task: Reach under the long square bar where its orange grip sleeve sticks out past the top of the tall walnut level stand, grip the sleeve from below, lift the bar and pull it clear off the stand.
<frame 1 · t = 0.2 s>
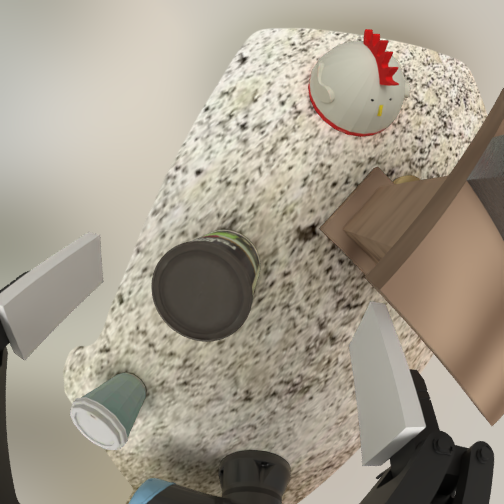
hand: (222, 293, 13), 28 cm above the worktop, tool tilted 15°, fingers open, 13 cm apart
coffee can: (224, 265, 41), on the worktop
level stand: (375, 227, 39), on the worktop
disposable coffee cup: (130, 384, 47), on the worktop
kitchen timer: (353, 94, 36), on the worktop
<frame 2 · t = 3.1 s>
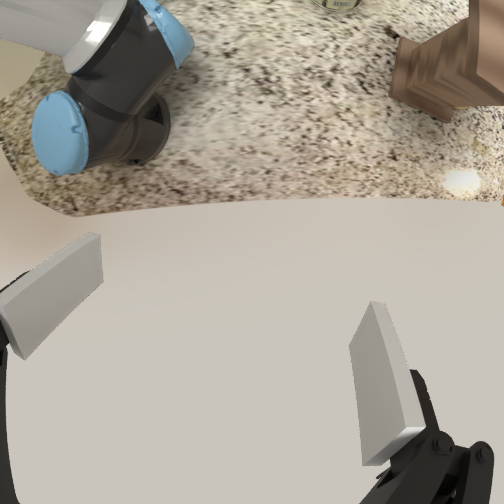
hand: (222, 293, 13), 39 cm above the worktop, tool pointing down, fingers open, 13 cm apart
level stand: (424, 80, 36), on the worktop
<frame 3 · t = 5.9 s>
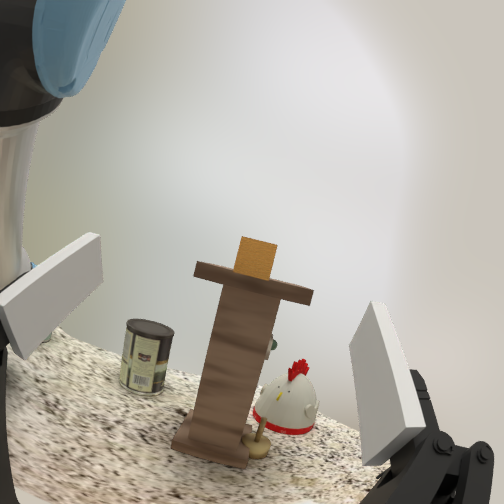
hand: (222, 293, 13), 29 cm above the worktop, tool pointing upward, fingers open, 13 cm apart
coffee can: (140, 385, 54), on the worktop
level stand: (213, 441, 41), on the worktop
kitchen timer: (282, 419, 55), on the worktop
long square bar: (255, 275, 38), point 30 cm above the worktop, touching level stand
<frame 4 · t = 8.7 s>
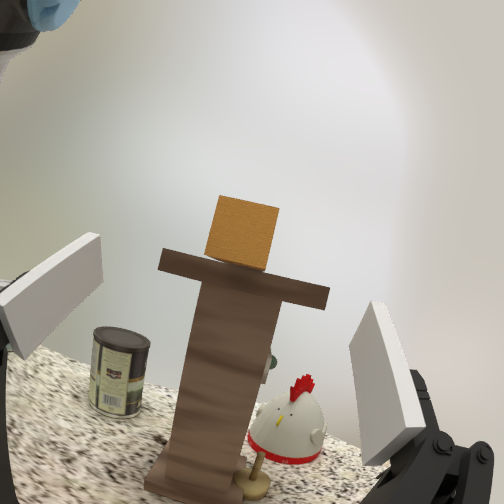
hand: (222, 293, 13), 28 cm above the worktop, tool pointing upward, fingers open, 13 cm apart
coffee can: (114, 404, 43), on the worktop
level stand: (198, 478, 29), on the worktop
kitchen timer: (283, 444, 44), on the worktop
long square bar: (246, 269, 27), point 30 cm above the worktop, touching level stand
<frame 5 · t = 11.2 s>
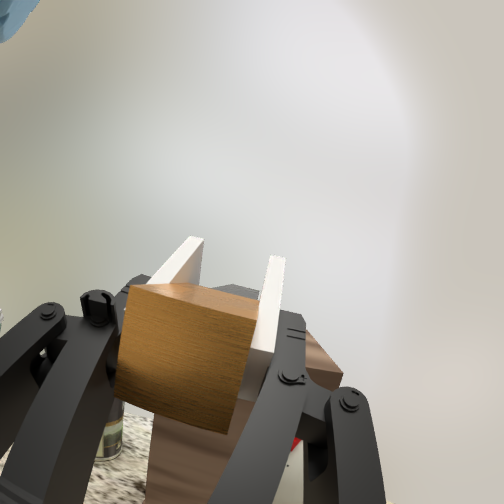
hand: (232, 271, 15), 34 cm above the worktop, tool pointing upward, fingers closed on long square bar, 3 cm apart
coffee can: (93, 443, 34), on the worktop
kitchen timer: (279, 488, 35), on the worktop
long square bar: (224, 336, 19), point 30 cm above the worktop, touching gripper, level stand
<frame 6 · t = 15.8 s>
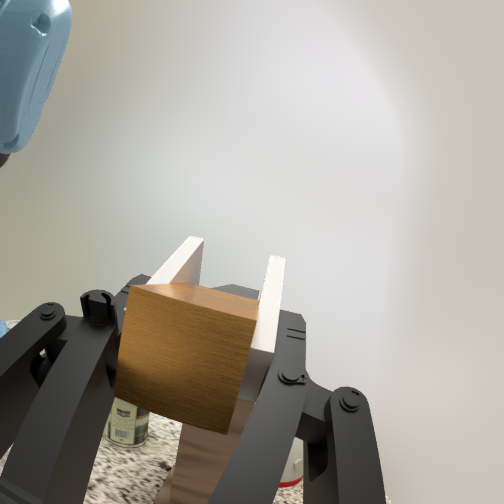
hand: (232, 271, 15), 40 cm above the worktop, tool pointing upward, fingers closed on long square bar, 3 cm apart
coffee can: (123, 434, 46), on the worktop
level stand: (197, 499, 33), on the worktop
kitchen timer: (271, 468, 48), on the worktop
long square bar: (224, 336, 19), point 35 cm above the worktop, touching gripper
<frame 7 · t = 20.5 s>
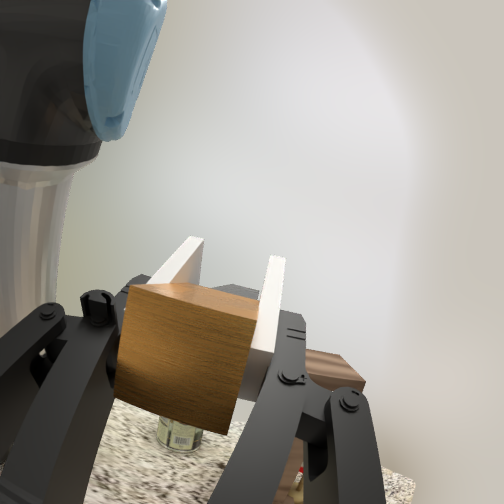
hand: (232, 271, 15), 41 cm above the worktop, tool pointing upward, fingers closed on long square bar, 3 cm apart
coffee can: (178, 440, 52), on the worktop
level stand: (259, 493, 39), on the worktop
long square bar: (224, 336, 19), point 36 cm above the worktop, touching gripper
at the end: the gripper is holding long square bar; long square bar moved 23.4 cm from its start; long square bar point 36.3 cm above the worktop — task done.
